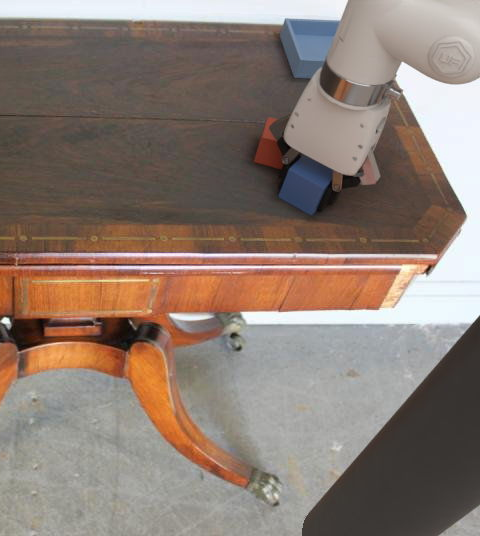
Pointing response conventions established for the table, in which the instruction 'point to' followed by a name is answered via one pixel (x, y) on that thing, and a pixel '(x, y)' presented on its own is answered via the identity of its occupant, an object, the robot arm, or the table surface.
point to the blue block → (306, 184)
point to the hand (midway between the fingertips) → (305, 193)
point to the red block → (269, 148)
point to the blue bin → (307, 44)
